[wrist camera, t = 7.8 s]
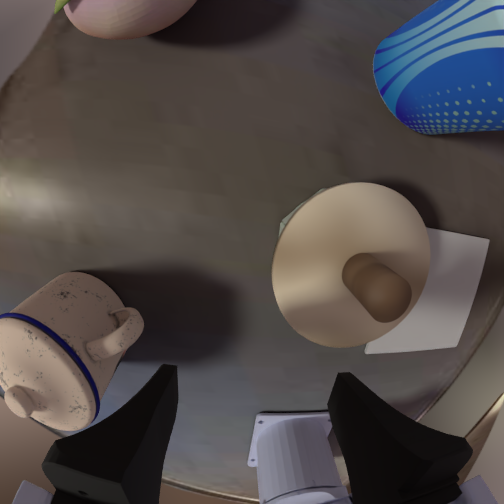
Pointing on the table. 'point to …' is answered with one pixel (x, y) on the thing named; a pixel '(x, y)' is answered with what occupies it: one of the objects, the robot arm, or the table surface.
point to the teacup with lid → (64, 350)
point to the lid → (350, 264)
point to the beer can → (446, 68)
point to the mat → (440, 296)
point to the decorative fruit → (123, 16)
